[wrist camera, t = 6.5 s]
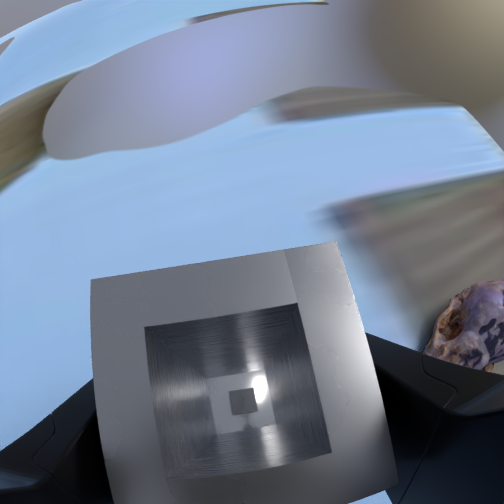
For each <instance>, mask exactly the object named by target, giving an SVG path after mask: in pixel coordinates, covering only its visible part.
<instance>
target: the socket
mask: <svg viewBox="0 0 504 504" xmlns="http://www.w3.org/2000/svg"><path fill="white" fill-rule="evenodd" d="M90 320H91V351H92V368H93V381H94V392H95V401H96V410H97V417H98V425H99V432H100V438H101V444H102V450H103V455H104V461H105V466H106V471H107V475H108V480H109V484H110V489H111V493H112V497H113V501H114V504H348V503H351V502H354V501H357V500H360V499H363V498H365V497H368V496H371V495H373V494H376V493H378V492H381V491H383V490H386V489H388V488H391V487H393V486H395V485H398V484H399V481H398V475H397V469H396V464H395V458H394V453H393V448H392V442H391V437H390V432H389V428H388V423H387V418H386V414H385V409H384V405H383V401H382V396H381V392H380V388H379V384H378V380H377V376H376V372H375V368H374V364H373V360H372V356H371V353H370V349H369V345H368V342H367V338H366V335H365V331H364V328H363V324H362V321H361V317H360V314H359V310H358V307H357V304H356V301H355V297H354V294H353V291H352V288H351V285H350V281H349V278H348V275H347V272H346V269H345V266H344V263H343V260H342V257H341V254H340V251H339V248H338V245H337V242H336V241H335V242H329V243H322V244H316V245H310V246H304V247H297V248H291V249H284V250H278V251H272V252H265V253H259V254H253V255H246V256H240V257H234V258H227V259H221V260H214V261H208V262H202V263H195V264H189V265H182V266H176V267H169V268H163V269H157V270H150V271H144V272H137V273H131V274H124V275H118V276H111V277H105V278H98V279H92V280H91V296H90ZM263 369H265V374H266V379H267V384H268V389H269V393H270V398H271V403H272V408H273V413H274V418H275V422H276V424H275V425H270V426H265V427H260V428H254V429H249V430H243V431H236V432H230V433H223V434H217V433H216V428H215V423H214V417H213V412H212V406H211V401H210V395H209V389H208V384H207V379H208V378H215V377H222V376H228V375H235V374H241V373H247V372H252V371H258V370H263Z"/></svg>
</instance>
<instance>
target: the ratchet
mask: <svg viewBox="0 0 504 504" xmlns="http://www.w3.org/2000/svg"><path fill="white" fill-rule="evenodd" d="M207 384H208V389H209V395H210V401H211V406H212V412H213V417H214V423H215V428H216V433H217V434H223V433H230V432H236V431H243V430H249V429H254V428H260V427H265V426H270V425H275V424H276V422H275V418H274V413H273V408H272V403H271V398H270V393H269V389H268V384H267V379H266V374H265V369H263V370H258V371H252V372H247V373H241V374H235V375H228V376H222V377H215V378H208V379H207Z"/></svg>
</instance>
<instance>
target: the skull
mask: <svg viewBox="0 0 504 504" xmlns="http://www.w3.org/2000/svg"><path fill="white" fill-rule="evenodd" d="M456 312H457V316H455V317H454V318H453V319H452V320H451V318H452V314H453V313H456ZM457 323H458V326H457V325H456V324H457ZM422 354H427V355H429V356H432V357H435V358H438V359H441V360H444V361H448V362H451V363H455V364H458V365H462V366H466V367H470V368H474V369H479V370H481V369H482V368H483V367H484V369H483V371H487V372H491V371H492V370H493V367H494V363H497V362H500V361H502V360H504V280H496V281H486V280H485V281H481V282H479V283H476V284H474V285H472V286H471V287H470V288H466V289H464V290H463V291H462V292H461V294H457V295H456V296H455V297H454V298H451V299H450V303H449V305H448V307H447V308H446V309H445V310H444V311H443V313H442V314H441V315H439V317H438V318H437V320H436V322H435V324H434V329H433V335H432V337H431V339H430V342H429V343H428V345H426V346H425V350H424V352H423V353H422Z"/></svg>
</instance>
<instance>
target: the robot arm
mask: <svg viewBox="0 0 504 504" xmlns="http://www.w3.org/2000/svg"><path fill="white" fill-rule="evenodd" d="M365 335H366V338H367V342H368V345H369V349H370V353H371V356H372V360H373V364H374V368H375V372H376V376H377V380H378V384H379V388H380V392H381V396H382V401H383V405H384V409H385V414H386V418H387V423H388V428H389V432H390V437H391V442H392V448H393V453H394V458H395V464H396V469H397V475H398V481H399V484H398V485H395V486H393V487H391V488H388V489H386V490H385V491H386V493H387V495H388V496H389V498H390V500H391V502H392V504H504V375H500V374H496V373H492V372H487V371H483V370H479V369H474V368H470V367H466V366H462V365H458V364H455V363H451V362H448V361H444V360H441V359H438V358H435V357H432V356H429V355H427V354H422V353H421V352H418V351H415V350H412V349H410V348H407V347H404V346H401V345H398V344H396V343H393V342H390V341H387V340H385V339H382V338H379V337H377V336H374V335H371V334H368V333H366V332H365ZM0 504H114V501H113V497H112V493H111V489H110V484H109V480H108V475H107V471H106V466H105V461H104V455H103V450H102V444H101V438H100V432H99V425H98V417H97V410H96V401H95V392H94V381H93V378H92V379H91V380H90V381H89V382H88V383H86V384H85V385H84V386H83V387H82V388H80V389H79V390H78V391H77V392H76V393H74V394H73V395H72V396H71V397H70V398H68V399H67V400H66V401H65V402H64V403H62V404H61V405H60V406H59V407H58V408H56V409H55V410H54V411H53V412H52V415H51V414H49V415H48V416H47V417H46V418H44V419H43V420H42V421H41V422H40V423H38V424H37V425H36V426H35V427H33V428H32V429H31V430H29V431H28V432H27V433H25V434H24V435H23V436H21V437H20V438H18V439H17V440H16V441H14V442H13V443H11V444H10V445H8V446H7V447H5V448H4V449H2V450H1V451H0Z"/></svg>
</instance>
